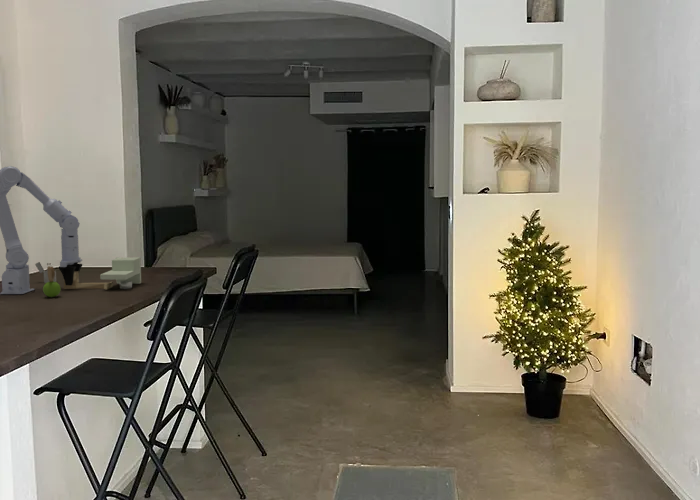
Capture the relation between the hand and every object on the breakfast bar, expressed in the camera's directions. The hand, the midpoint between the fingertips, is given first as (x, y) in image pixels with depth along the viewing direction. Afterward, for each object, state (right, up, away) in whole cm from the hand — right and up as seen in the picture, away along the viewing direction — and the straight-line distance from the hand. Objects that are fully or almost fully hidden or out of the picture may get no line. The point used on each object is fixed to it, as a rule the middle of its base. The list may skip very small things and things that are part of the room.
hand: (71, 284), depth 235 cm
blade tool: (+6, -1, 0) cm, 6 cm away
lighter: (-16, 0, +13) cm, 21 cm away
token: (+20, -2, +1) cm, 20 cm away
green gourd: (+2, -4, -20) cm, 20 cm away
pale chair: (+17, -1, +4) cm, 18 cm away
